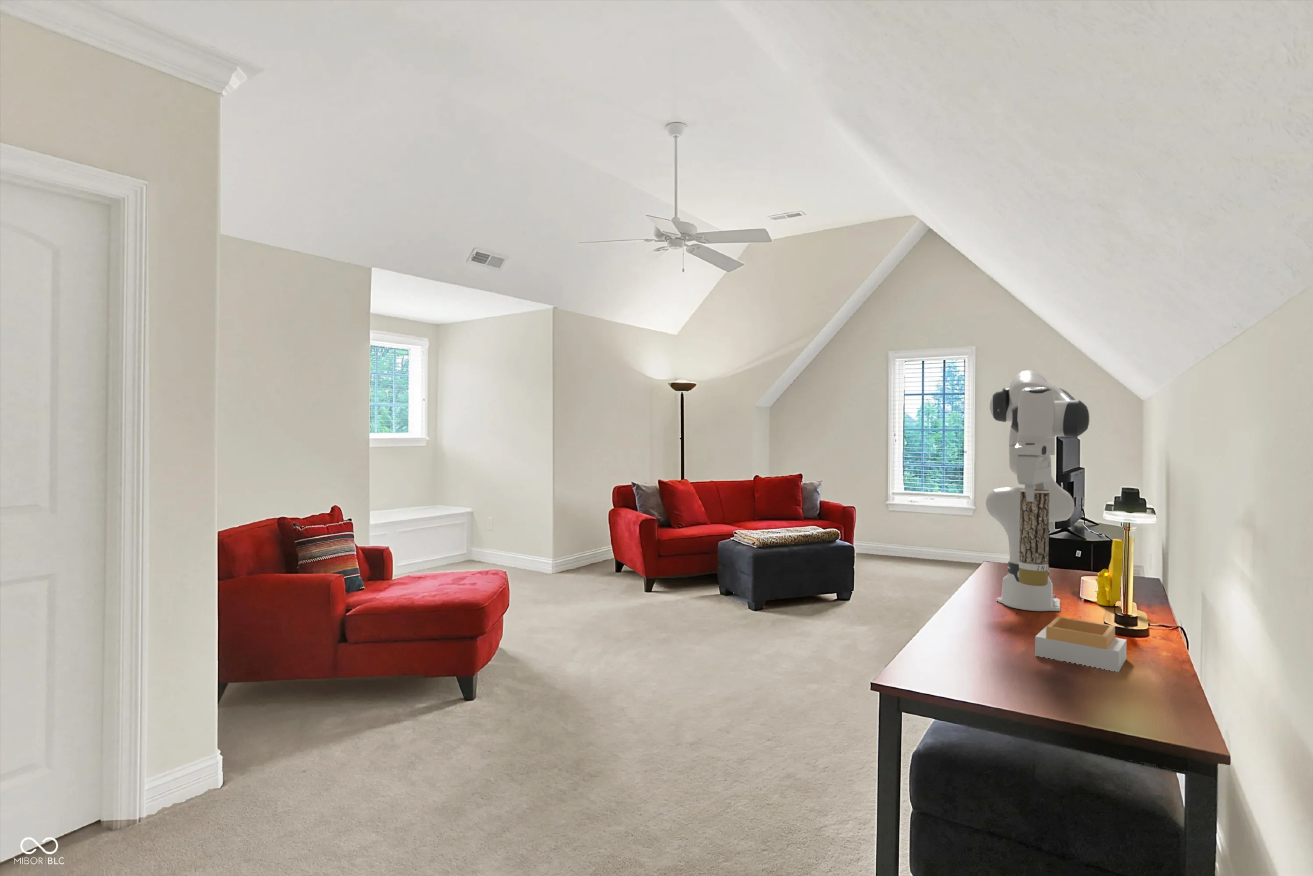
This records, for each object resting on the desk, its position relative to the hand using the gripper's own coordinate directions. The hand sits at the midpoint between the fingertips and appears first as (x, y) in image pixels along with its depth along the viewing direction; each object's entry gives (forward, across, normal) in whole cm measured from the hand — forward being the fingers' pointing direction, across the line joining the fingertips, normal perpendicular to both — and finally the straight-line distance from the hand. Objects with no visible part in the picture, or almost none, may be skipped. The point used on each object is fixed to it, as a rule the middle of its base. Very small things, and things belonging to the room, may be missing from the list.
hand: (1034, 500), depth 184 cm
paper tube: (+22, 0, 0) cm, 22 cm away
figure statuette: (+39, -68, +7) cm, 79 cm away
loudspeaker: (+39, 0, +11) cm, 41 cm away
